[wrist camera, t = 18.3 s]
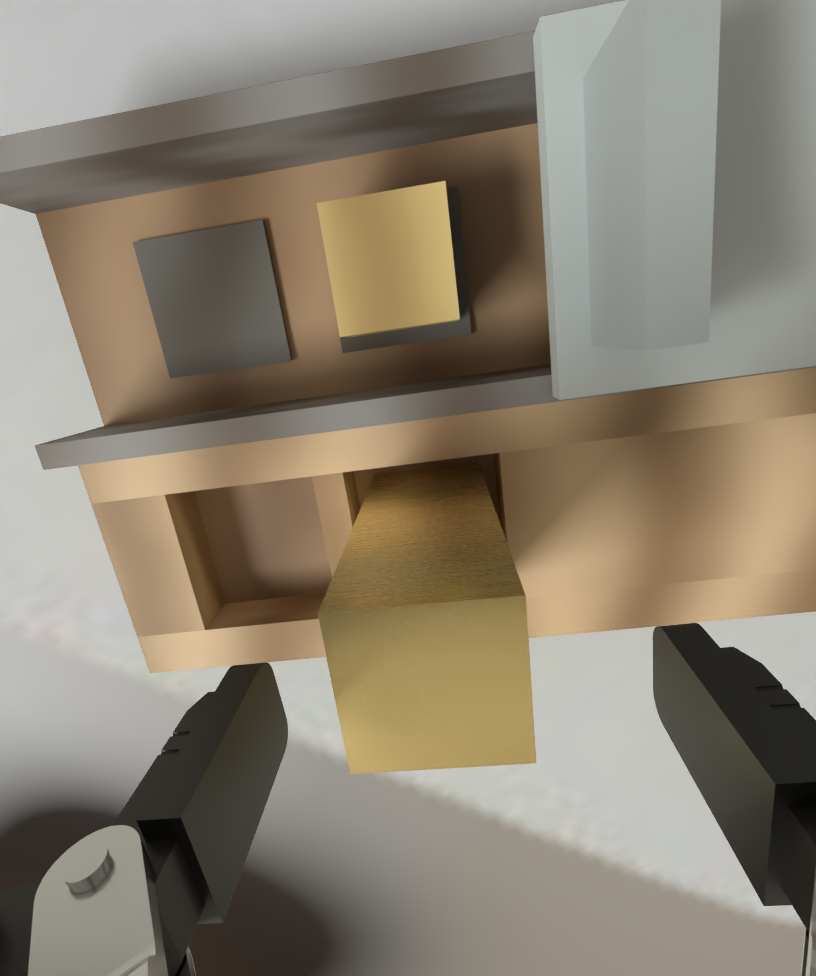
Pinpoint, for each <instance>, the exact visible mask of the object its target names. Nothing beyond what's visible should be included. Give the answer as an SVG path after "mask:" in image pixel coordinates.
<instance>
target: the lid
mask: <svg viewBox="0 0 816 976" xmlns="http://www.w3.org/2000/svg"><path fill="white" fill-rule="evenodd" d="M533 47H534V65H535V83H536V101H537V119H538V137H539V156H540V174H541V192H542V210H543V228H544V247H545V265H546V283H547V301H548V319H549V337H550V356H551V374H552V392H553V397H555V398H557V399H559V400H563V399H571V398H578V397H586V396H593V395H601V394H608V393H616V392H623V391H631V390H638V389H646V388H653V387H661V386H669V385H676V384H684V383H691V382H699V381H706V380H714V379H721V378H729V377H736V376H744V375H751V374H759V373H766V372H774V371H781V370H789V369H796V368H804V367H811V366H816V0H623V1H617V2H612V3H607V4H602V5H597V6H592V7H587V8H582V9H577V10H572V11H567V12H562V13H557V14H552V15H547V16H542V17H540V18H539V21H538V24H537V27H536V30H535V33H534V36H533Z"/></svg>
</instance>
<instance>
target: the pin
mask: <svg viewBox="0 0 816 976" xmlns="http://www.w3.org/2000/svg"><path fill="white" fill-rule="evenodd" d="M318 617H319V622H320V627H321V632H322V637H323V642H324V647H325V652H326V657H327V662H328V667H329V672H330V677H331V681H332V686H333V691H334V696H335V701H336V706H337V711H338V716H339V721H340V726H341V731H342V736H343V741H344V745H345V750H346V755H347V760H348V765H349V769H350V774H360V773H377V772H393V771H410V770H427V769H444V768H461V767H478V766H495V765H512V764H529V763H536V752H535V736H534V720H533V704H532V688H531V672H530V656H529V640H528V625H527V609H526V595H525V592H524V589H523V586H522V584H521V581H520V578H519V575H518V572H517V570H516V567H515V564H514V561H513V558H512V556H511V553H510V550H509V547H508V544H507V542H506V539H505V536H504V533H503V530H502V528H501V525H500V522H499V519H498V516H497V514H496V511H495V508H494V505H493V502H492V500H491V497H490V494H489V491H488V488H487V486H486V483H485V480H484V477H483V474H482V472H481V469H480V466H479V463H471V464H461V465H452V466H443V467H434V468H425V469H416V470H407V471H397V472H388V473H379V474H375V475H374V477H373V479H372V482H371V484H370V487H369V489H368V492H367V494H366V497H365V499H364V501H363V504H362V506H361V509H360V511H359V514H358V516H357V519H356V521H355V523H354V526H353V528H352V531H351V533H350V536H349V538H348V541H347V543H346V545H345V548H344V550H343V553H342V555H341V558H340V560H339V562H338V565H337V567H336V570H335V572H334V575H333V577H332V580H331V582H330V584H329V587H328V589H327V592H326V594H325V597H324V599H323V602H322V604H321V606H320V609H319V611H318Z"/></svg>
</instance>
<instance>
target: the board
mask: <svg viewBox="0 0 816 976" xmlns="http://www.w3.org/2000/svg"><path fill="white" fill-rule="evenodd" d="M534 33H535V31H534V32H529V33H524V34H519V35H513V36H508V37H503V38H498V39H493V40H488V41H483V42H478V43H473V44H468V45H463V46H458V47H453V48H447V49H442V50H437V51H432V52H427V53H422V54H417V55H412V56H407V57H402V58H397V59H392V60H387V61H381V62H376V63H371V64H366V65H361V66H356V67H351V68H346V69H341V70H336V71H331V72H326V73H321V74H315V75H310V76H305V77H300V78H295V79H290V80H285V81H280V82H275V83H270V84H265V85H260V86H255V87H249V88H244V89H239V90H234V91H229V92H224V93H219V94H214V95H209V96H204V97H199V98H194V99H189V100H183V101H178V102H173V103H168V104H163V105H158V106H153V107H148V108H143V109H138V110H133V111H128V112H123V113H117V114H112V115H107V116H102V117H97V118H92V119H87V120H82V121H77V122H72V123H67V124H62V125H57V126H51V127H46V128H41V129H36V130H31V131H26V132H21V133H16V134H11V135H6V136H1V137H0V203H2V204H5V205H8V206H11V207H15V208H18V209H21V210H25V211H28V212H31V213H35V214H36V216H37V219H38V222H39V225H40V228H41V232H42V235H43V238H44V241H45V244H46V247H47V250H48V253H49V256H50V259H51V263H52V266H53V269H54V272H55V275H56V278H57V281H58V284H59V287H60V290H61V294H62V297H63V300H64V303H65V306H66V309H67V312H68V315H69V318H70V321H71V325H72V328H73V331H74V334H75V337H76V340H77V343H78V346H79V349H80V352H81V355H82V359H83V362H84V365H85V368H86V371H87V374H88V377H89V380H90V383H91V386H92V390H93V393H94V396H95V399H96V402H97V405H98V408H99V411H100V414H101V417H102V421H103V424H104V426H103V427H100V428H96V429H92V430H89V431H85V432H82V433H78V434H75V435H71V436H68V437H64V438H61V439H57V440H53V441H50V442H46V443H43V444H39V445H36V446H35V448H36V450H37V453H38V456H39V459H40V461H41V464H42V467H43V469H44V470H46V469H54V468H61V467H69V466H76V465H78V467H79V470H80V473H81V476H82V479H83V481H84V484H85V487H86V490H87V493H88V496H89V499H90V502H91V505H92V507H93V510H94V513H95V516H96V519H97V522H98V525H99V528H100V530H101V533H102V536H103V539H104V542H105V545H106V548H107V551H108V554H109V556H110V559H111V562H112V565H113V568H114V571H115V574H116V577H117V580H118V582H119V585H120V588H121V591H122V594H123V597H124V600H125V603H126V605H127V608H128V611H129V614H130V617H131V620H132V623H133V626H134V629H135V631H136V634H137V637H138V640H139V643H140V646H141V649H142V652H143V655H144V657H145V660H146V663H147V666H148V669H149V672H150V673H156V672H166V671H177V670H188V669H199V668H210V667H220V666H231V665H242V664H253V663H264V662H274V661H285V660H296V659H307V658H317V657H326V652H325V647H324V642H323V637H322V632H321V627H320V622H319V617H318V611H319V609H320V606H321V604H322V602H323V599H324V597H325V594H326V592H327V589H328V587H329V584H330V582H331V580H332V577H333V575H334V572H335V570H336V567H337V565H338V562H339V560H340V558H341V555H342V553H343V550H344V548H345V545H346V543H347V541H348V538H349V536H350V533H351V531H352V528H353V526H354V523H355V521H356V519H357V516H358V514H359V511H360V509H361V506H362V504H363V501H364V499H365V497H366V494H367V492H368V489H369V487H370V484H371V482H372V479H373V477H374V475H375V474H379V473H388V472H397V471H407V470H416V469H425V468H434V467H443V466H452V465H461V464H471V463H479V466H480V469H481V472H482V474H483V477H484V480H485V483H486V486H487V488H488V491H489V494H490V497H491V500H492V502H493V505H494V508H495V511H496V514H497V516H498V519H499V522H500V525H501V528H502V530H503V533H504V536H505V539H506V542H507V544H508V547H509V550H510V553H511V556H512V558H513V561H514V564H515V567H516V570H517V572H518V575H519V578H520V581H521V584H522V586H523V589H524V592H525V595H526V609H527V625H528V638H533V637H544V636H555V635H566V634H576V633H587V632H598V631H609V630H619V629H630V628H641V627H652V626H663V625H673V624H684V623H695V622H706V621H716V620H727V619H738V618H749V617H760V616H770V615H781V614H792V613H803V612H814V611H816V366H811V367H804V368H796V369H789V370H781V371H774V372H766V373H759V374H751V375H744V376H736V377H729V378H721V379H714V380H706V381H699V382H691V383H684V384H676V385H669V386H661V387H653V388H646V389H638V390H631V391H623V392H616V393H608V394H601V395H593V396H586V397H578V398H571V399H563V400H559V399H557V398H555V397H553V392H552V374H551V356H550V337H549V319H548V301H547V283H546V265H545V247H544V228H543V210H542V192H541V174H540V156H539V137H538V119H537V101H536V83H535V65H534V47H533V36H534Z"/></svg>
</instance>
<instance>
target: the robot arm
mask: <svg viewBox="0 0 816 976" xmlns="http://www.w3.org/2000/svg"><path fill="white" fill-rule="evenodd" d="M653 692H654V699H655V704H656V708H657V711H658V714H659V717H660V719H661V721H662V724H663V725H664V727H665V729H666V731H667V733H668V734H669V736H670V738H671V740H672V742H673V743H674V745H675V747H676V749H677V751H678V752H679V754H680V756H681V758H682V760H683V761H684V763H685V765H686V767H687V769H688V770H689V772H690V774H691V776H692V778H693V779H694V781H695V783H696V785H697V787H698V788H699V790H700V792H701V794H702V796H703V797H704V799H705V801H706V803H707V805H708V806H709V808H710V810H711V812H712V814H713V815H714V817H715V819H716V821H717V822H718V824H719V826H720V828H721V830H722V831H723V833H724V835H725V837H726V839H727V840H728V842H729V844H730V846H731V848H732V849H733V851H734V853H735V855H736V857H737V858H738V860H739V862H740V864H741V866H742V867H743V869H744V871H745V873H746V875H747V876H748V878H749V880H750V882H751V884H752V885H753V887H754V889H755V891H756V893H757V894H758V896H759V898H760V900H761V902H762V903H763V905H764V906H777V905H793V907H794V909H795V910H796V912H797V914H798V915H799V917H800V919H801V920H802V922H803V924H804V925H805V927H806V929H805V937H804V946H803V956H802V967H801V976H816V720H815V719H814V718H813V717H812V716H811V715H810V714H809V713H808V712H807V711H806V710H805V709H804V708H801V707H800V705H799V702H798V701H797V700H796V699H795V698H794V697H793V696H792V695H791V694H790V693H789V692H788V691H787V690H786V689H785V690H784V689H783V687H782V684H781V683H780V682H779V681H778V680H777V679H776V678H775V677H774V676H773V675H772V674H771V673H770V672H769V671H768V670H767V669H766V667H765V666H764V665H763V664H762V663H760V662H758V661H756V660H755V659H753V658H751V657H750V656H748V655H746V654H745V653H743V652H741V651H740V650H738V649H736V648H734V647H726V648H720V647H719V646H718V645H717V644H716V643H715V641H714V640H713V639H712V638H711V637H710V636H709V635H708V633H707V632H706V631H705V630H704V629H703V628H702V627H701V626H700V625H699V624H697V623H689V624H679V625H668V626H658V627H655V629H654V632H653ZM287 738H288V725H287V718H286V715H285V711H284V708H283V704H282V701H281V697H280V694H279V690H278V687H277V683H276V680H275V676H274V673H273V670H272V667H271V666H270V664H269V663H266V662H265V663H255V664H244V665H234V666H232V667H230V668H229V670H228V671H227V673H226V674H225V676H224V678H223V679H222V681H221V683H220V684H219V686H218V688H217V689H216V691H215V692H208V693H207V694H205V695H204V696H203V697H202V698H201V699H200V700H199V701H198V702H197V703H196V704H194V705H193V706H192V707H191V708H190V709H189V710H188V711H187V712H186V713H185V715H184V716H183V718H182V719H181V721H180V723H179V724H178V726H177V727H176V729H175V731H174V732H173V737H170V738H169V740H168V741H167V743H166V744H165V746H164V747H163V749H162V753H161V755H158V756H157V758H156V759H155V761H154V762H153V764H152V766H151V767H150V769H149V770H148V772H147V773H146V775H145V776H144V778H143V779H142V781H141V782H140V784H139V785H138V787H137V788H136V790H135V792H134V793H133V795H132V796H131V798H130V799H129V801H128V802H127V804H126V805H125V807H124V808H123V810H122V811H121V813H120V815H119V816H118V818H117V819H116V821H115V822H114V824H113V825H112V826H110V827H106V828H103V829H101V830H98V831H96V832H94V833H92V834H90V835H88V836H86V837H85V838H83V839H82V840H80V841H79V842H77V843H76V844H75V845H73V846H72V847H71V848H69V849H68V850H67V851H66V852H65V853H64V854H63V855H62V856H61V857H60V858H59V859H58V860H57V861H56V862H55V863H54V864H53V866H52V867H51V868H50V869H49V870H48V872H47V873H46V875H45V876H44V878H43V879H42V880H40V881H37V882H35V883H32V884H29V885H27V886H24V887H21V888H18V889H15V890H13V891H10V892H7V893H4V894H2V895H0V976H196V975H195V969H194V964H193V960H192V955H191V953H190V950H189V948H188V946H189V943H190V941H191V938H192V936H193V933H194V931H195V928H196V926H197V924H204V923H223V921H224V918H225V915H226V913H227V910H228V907H229V904H230V902H231V899H232V896H233V893H234V891H235V888H236V885H237V882H238V880H239V877H240V874H241V871H242V869H243V866H244V863H245V860H246V858H247V855H248V852H249V849H250V846H251V844H252V841H253V838H254V835H255V833H256V830H257V827H258V824H259V822H260V819H261V816H262V813H263V811H264V808H265V805H266V802H267V800H268V796H269V794H270V791H271V788H272V786H273V783H274V780H275V777H276V775H277V772H278V769H279V766H280V763H281V761H282V758H283V755H284V752H285V749H286V745H287Z"/></svg>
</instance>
